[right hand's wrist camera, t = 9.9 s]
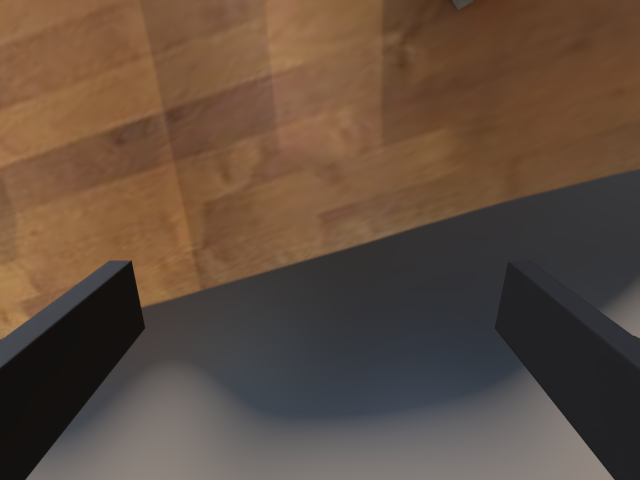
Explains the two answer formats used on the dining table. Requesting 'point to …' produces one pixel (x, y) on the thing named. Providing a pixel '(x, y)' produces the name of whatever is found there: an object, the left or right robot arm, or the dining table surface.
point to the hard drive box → (461, 3)
